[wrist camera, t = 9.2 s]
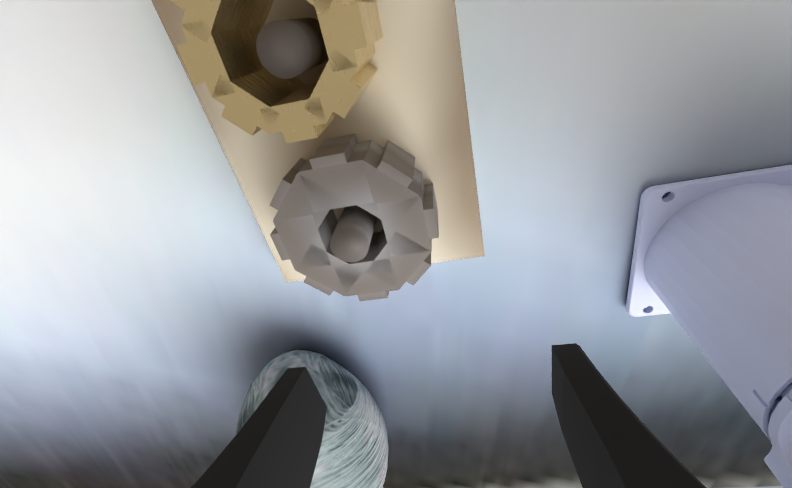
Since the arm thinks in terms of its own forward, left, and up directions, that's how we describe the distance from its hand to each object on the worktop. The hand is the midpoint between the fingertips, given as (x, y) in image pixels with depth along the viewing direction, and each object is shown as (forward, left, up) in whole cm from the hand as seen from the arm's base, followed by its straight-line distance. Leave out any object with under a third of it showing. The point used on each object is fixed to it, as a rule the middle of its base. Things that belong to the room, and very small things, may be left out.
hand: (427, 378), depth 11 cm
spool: (+10, +14, -10) cm, 20 cm away
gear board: (+3, -5, -10) cm, 11 cm away
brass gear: (+3, -9, -9) cm, 13 cm away
